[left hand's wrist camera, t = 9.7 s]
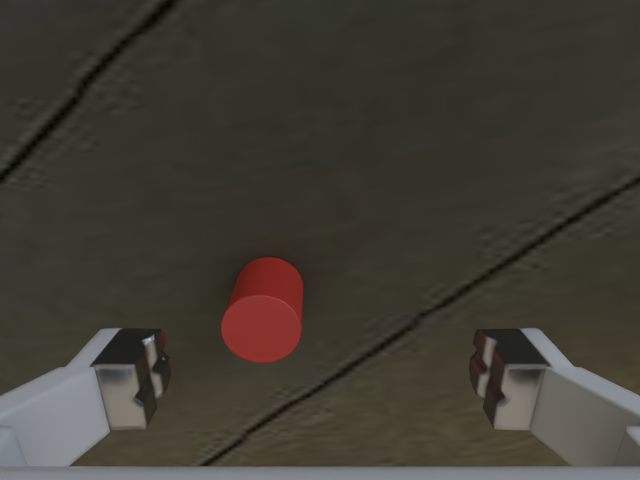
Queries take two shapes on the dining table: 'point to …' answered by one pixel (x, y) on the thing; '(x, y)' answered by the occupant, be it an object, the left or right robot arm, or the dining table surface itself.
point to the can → (264, 311)
